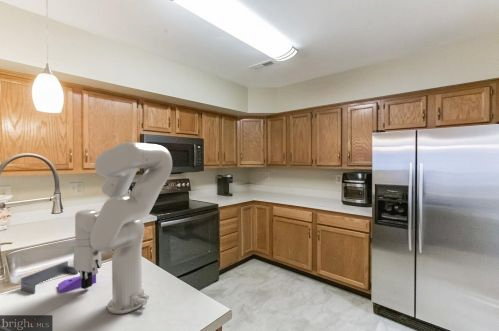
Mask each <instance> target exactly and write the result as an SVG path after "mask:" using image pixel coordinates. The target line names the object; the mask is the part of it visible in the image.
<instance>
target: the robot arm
mask: <svg viewBox="0 0 499 331" xmlns="http://www.w3.org/2000/svg"><path fill="white" fill-rule="evenodd" d="M139 169H147V170H145V172H144V173H142V174H141V175H140V176H139V177H138V179H137V180H136V182H135V184H134V186H133V188H132V190H131V191H130V192H128V191H129V188H130V187H131V185H132V182H133V180H134V179H135V176H136V174H137V172H138V170H139ZM172 169H173V159H172V155H171V152H170V151H169V150H168V149H167V147H164V146H163V145H160V144H156V143H148V142H136V141H127V142H122V143H120V144H118V145H115V146H113V147H111V148H109V149H105V151H102V152H101V153H100V154H99V155H98V156H97V157H96V159H95V162H94V170H95V173H96V174H97V175H98V176H100V177H104V178H105V179H104V181H103V184H102V185H101V192H102V193H103V194H104V195H106V196H107V197H109V198H108V199H107V200H106V201H105V202H104V204H103V205H102V207H101V208H100V210H99V211H98V210H96V209H83V210H82V209H81V210H79V211H77V212H76V213H75V214H74V225H75V227H74V228H75V229H74V230H75V231H74V234H75V235H74V244H75V245H74V249H73V250H74V251H73V267H74V268H75V269H76V271H78V274H79V276H80V277H81V278H82V279H81V287H80V289H83V290H87V289H89V288H91V287H92V286H93V284H92V276H93V275H95V274H96V275H97V274H99V269H101V268H102V264H103V263H102V253H104V252H108V251H112V250H113V254H112V259H111V267H112V268H111V270H112V271H111V278H112V279H111V280H112V281H111V284H112V286H111V288H112V293H111V294H112V295H111V296H112V298H111V299H110V300H109V301H108V302H107V306H106V307H107V311H108V312H110V313H112V314H116V315H117V314H118V315H119V314H127V313H130V312H132V311H135V310H138V309H139V308H141V307H142V306H146V304H147V303H148V300H149V299H150V296H149V295H147V294H146V293H145V290H144V289H143V288H142V287H143V286H142V282H143V281H142V276H143V275H142V256H143V255H142V254H143V253H142V252H143V251H142V249H143V248H142V247H143V240H144V235H145V224H144V221H143V219H145V218H147V217H148V215H149V214H150V212H151V211H152V209H153V207H154V206H155V203H156V201H157V199H158V198H159V195H160V193H161V191H162V190H163V188H164V186H165V184H166V183H167V181H168V179H169V178H170V175H171V173H172Z"/></svg>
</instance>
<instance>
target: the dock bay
mask: <svg viewBox="0 0 499 331" xmlns="http://www.w3.org/2000/svg"><path fill="white" fill-rule="evenodd" d="M65 272H66V273H68V272H70V273H69V274H73V275H78V274H79V272H78V271H76V269H75V268H74V266H72V265H71V266H70V265H69V261H64V262H60V263H59V264H56V265H52V266H49V267H48V268H44V269H43V270H39V271H37V272H35V273H30V274H28V275H25V276H23V277H21V278H20V290H21V291H22V292H25V293H29V294H32V295H34V294H36V286H38V285H40V284H41V283H40V282H42V283H44V282H43V281H45V282H47V281H49V280H51V279H50V278H52V279H54V278H56V277H58V276H57V275H59V276H61V275H62V274H66V273H65ZM60 274H61V275H60ZM55 276H56V277H55ZM53 277H54V278H53ZM48 279H49V280H48ZM46 280H47V281H46ZM39 283H40V284H39ZM37 284H38V285H37Z"/></svg>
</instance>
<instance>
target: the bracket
mask: <svg viewBox="0 0 499 331" xmlns="http://www.w3.org/2000/svg"><path fill="white" fill-rule="evenodd" d="M81 279H82V278H81V277H80V275H78V276H75V277H72V278H67V279H65V280H62V281H60V282H59V283H58V284H57V287H58V292H59V294H64V293H67V292H70V291H73V290H77V289H79V288H80V289H81ZM94 284H97V274H95V275H93V276H92V285H94Z"/></svg>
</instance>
